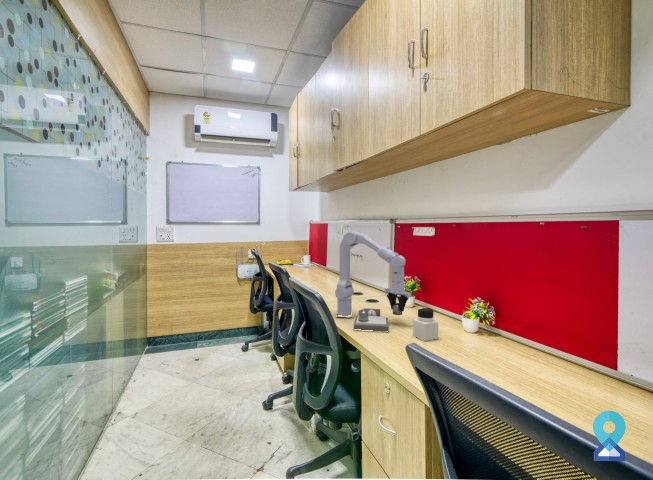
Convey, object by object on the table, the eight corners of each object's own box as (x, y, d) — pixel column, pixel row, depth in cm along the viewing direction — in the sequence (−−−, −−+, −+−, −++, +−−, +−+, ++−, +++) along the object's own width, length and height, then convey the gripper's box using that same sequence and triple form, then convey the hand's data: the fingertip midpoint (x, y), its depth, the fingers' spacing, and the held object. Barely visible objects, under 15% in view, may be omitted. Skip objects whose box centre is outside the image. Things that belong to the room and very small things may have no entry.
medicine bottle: (438, 339, 126) (438, 309, 126) (424, 341, 123) (425, 311, 123) (425, 334, 133) (426, 305, 132) (412, 336, 130) (412, 307, 129)
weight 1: (360, 319, 144) (360, 308, 144) (369, 320, 142) (369, 309, 142) (357, 321, 140) (357, 310, 140) (366, 322, 138) (366, 311, 138)
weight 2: (392, 312, 150) (392, 302, 150) (401, 313, 149) (402, 302, 149) (392, 314, 145) (392, 304, 145) (402, 315, 145) (402, 304, 145)
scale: (356, 320, 154) (356, 308, 154) (387, 321, 151) (387, 309, 151) (353, 330, 137) (353, 317, 137) (388, 332, 135) (388, 318, 135)
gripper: (380, 280, 150) (380, 308, 151) (404, 284, 139) (403, 314, 139) (390, 279, 155) (390, 306, 155) (414, 282, 143) (414, 312, 143)
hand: (397, 310), depth 147 cm, fingers closed on weight 2, 4 cm apart
